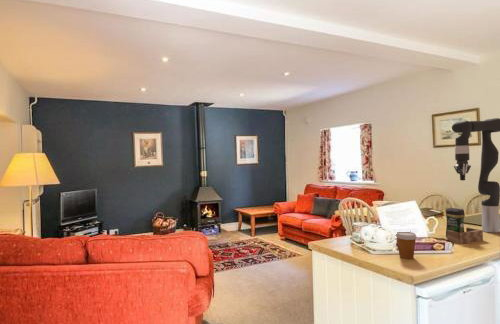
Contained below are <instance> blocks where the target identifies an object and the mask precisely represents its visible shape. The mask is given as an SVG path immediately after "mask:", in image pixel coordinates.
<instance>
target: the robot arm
mask: <svg viewBox="0 0 500 324" xmlns="http://www.w3.org/2000/svg"><path fill="white" fill-rule="evenodd" d="M451 131H453V132H454V133H455V134H461V135H459V136H456V137H455V149H454V159H455V160H454V161H456V165H453V169H454V171H455V172H456V173H457V174H459V180H460V181H466V175H467V174H468V173H469V171H470V170H471V167H472V165H470V164H469V161H470V146H469V145H470V144H469V139H470V136H471V133H476V132H481V141H482V142H481V154H480V155H481V156H480V157H481V158H480V172H479V177H478V185H477V189H478V190H477V191H478V193H479V194H480V195H484V196H489V198H487V199H483V200H481V202H480V203H481V204H480V205H481V230H483V232H485V233H494V234H495V233H497V234H498V233H500V205H499V204H500V182H498V181H495V180H494V181H493V180H492V181H491V180H489V176H490V174H491V172H492V171H493V169H494V168H495V167H496V166H497V164H498V163H499V150H498V148H497V146H495V144H494V142H493V140H492V133H500V118H498V117H497V118H495V117H493V118H488V119H483V120H470V121H468V120H464V121H455V122H454V123H453V124H452V126H451Z"/></svg>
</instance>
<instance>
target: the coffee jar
mask: <svg viewBox="0 0 500 324" xmlns="http://www.w3.org/2000/svg"><path fill="white" fill-rule="evenodd" d="M445 216H446V229H445V238H447V230H450V231H455V232H460V233H461V232H465V225H464V222H465V210H464V209H461V208H455V207H447V208H445Z"/></svg>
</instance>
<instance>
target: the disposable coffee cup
mask: <svg viewBox="0 0 500 324" xmlns="http://www.w3.org/2000/svg"><path fill="white" fill-rule="evenodd" d="M395 237H396V241H397V242H396V243H397V248H398V253H399V258H401V259H405V260H413V259H414V255H415V247H416V239H417V238H418V237H417V235H416V232H411V231H410V232H397V234H396V235H395Z"/></svg>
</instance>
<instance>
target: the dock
mask: <svg viewBox="0 0 500 324" xmlns="http://www.w3.org/2000/svg"><path fill="white" fill-rule="evenodd" d="M465 229H466V231H464V232H461V233H460V232H455V231H450V230H447V237H446V241H447V240H449V241H448V242H451V241H452V243H456V244H460V245H463V244H469V243H475V242H482V241H483V240H484V235H483V234H484V233H483V232H484V231H483V230H482V229H478V228H473V227H466V228H465Z"/></svg>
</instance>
